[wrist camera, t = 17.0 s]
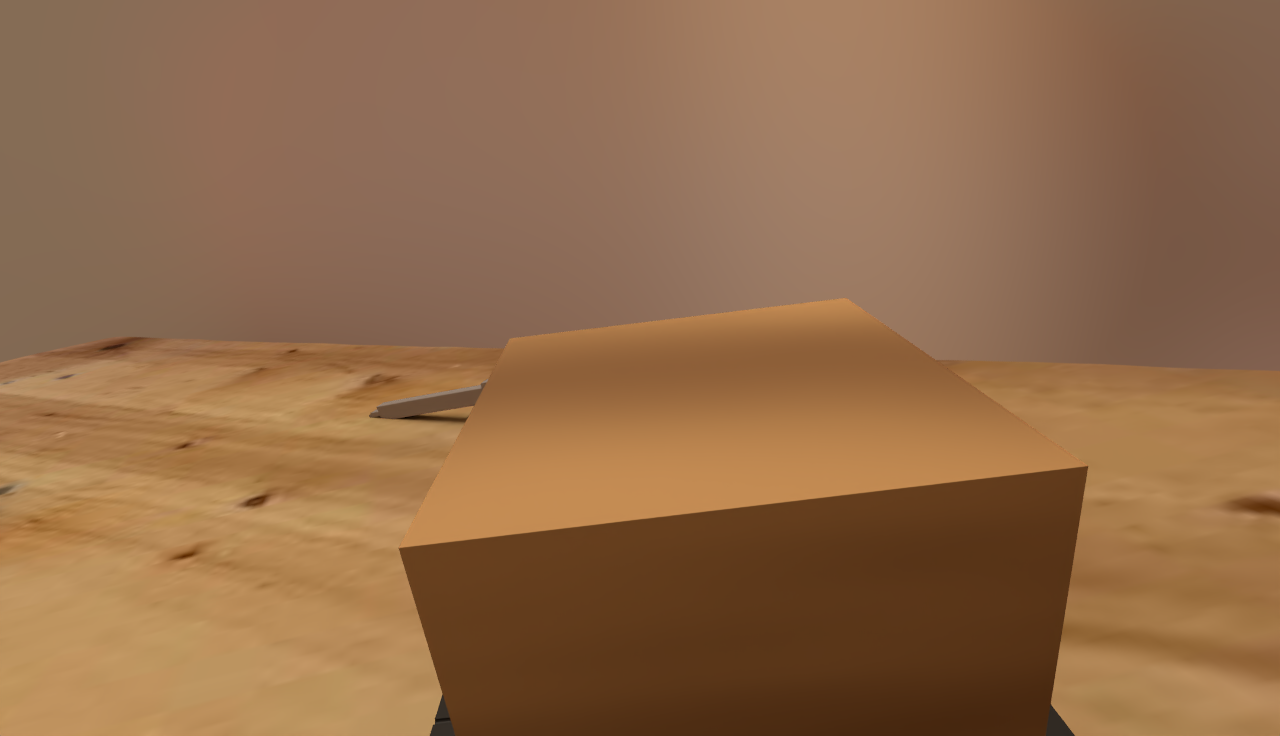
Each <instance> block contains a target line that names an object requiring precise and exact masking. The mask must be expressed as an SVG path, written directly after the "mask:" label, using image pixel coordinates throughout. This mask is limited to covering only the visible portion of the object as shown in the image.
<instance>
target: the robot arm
mask: <svg viewBox="0 0 1280 736" xmlns="http://www.w3.org/2000/svg"><path fill="white" fill-rule="evenodd" d="M430 736H455V733H454V729H453V726H452V723H451V719H450V716H449V713H448V710H447V706H446V703H445V700H444V696H443V695H442V698H441V701H440V705H439V708H438V711H437V714H436V717H435V725H433V727H432V730H431V734H430ZM1046 736H1075V735H1074V734H1073V733H1072V731H1071V730H1070V729H1069V728H1068V726H1067V725H1066V724H1065V722H1064V721H1063V720H1062V718H1061V717H1060V716H1059V715H1058V713H1057V712H1056V711H1055V709H1054V708H1053V707H1052V705H1051V704H1050V710H1049V717H1048V723H1047V729H1046Z"/></svg>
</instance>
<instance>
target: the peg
mask: <svg viewBox="0 0 1280 736" xmlns="http://www.w3.org/2000/svg"><path fill="white" fill-rule="evenodd" d="M1087 470H1088V466H1087V465H1086V464H1085V463H1083V462H1082V461H1080V460H1079V459H1077V458H1076V457H1074V456H1073V455H1072V454H1070V453H1069V452H1067V451H1066V450H1064V449H1063V448H1061V447H1060V446H1059V445H1057V444H1056V443H1054V442H1053V441H1051V440H1050V439H1049V438H1047V437H1046V436H1044V435H1043V434H1041V433H1040V432H1038V431H1037V430H1036V429H1034V428H1033V427H1031V426H1030V425H1028V424H1027V423H1025V422H1024V421H1023V420H1021V419H1020V418H1018V417H1017V416H1015V415H1014V414H1013V413H1011V412H1010V411H1008V410H1007V409H1005V408H1004V407H1002V406H1001V405H1000V404H998V403H997V402H995V401H994V400H992V399H991V398H989V397H988V396H987V395H985V394H984V393H982V392H981V391H979V390H978V389H977V388H975V387H974V386H972V385H971V384H969V383H968V382H966V381H965V380H964V379H962V378H961V377H959V376H958V375H956V374H955V373H953V372H952V371H951V370H949V369H948V368H946V367H945V366H943V365H942V364H941V363H939V362H938V361H936V360H935V359H933V358H932V357H930V356H929V355H928V354H926V353H925V352H923V351H922V350H920V349H919V348H917V347H916V346H915V345H913V344H912V343H910V342H909V341H907V340H906V339H904V338H903V337H902V336H900V335H899V334H897V333H896V332H894V331H892V329H890V328H889V327H887V326H886V325H884V324H883V323H881V322H880V321H879V320H877V319H876V318H874V317H873V316H871V315H870V314H868V313H867V312H866V311H864V310H863V309H861V308H860V307H858V306H857V305H855V304H854V303H853V302H851V301H850V300H848V299H847V298H842V299H833V300H826V301H818V302H809V303H800V304H792V305H784V306H776V307H767V308H760V309H751V310H742V311H734V312H726V313H718V314H709V315H702V316H693V317H684V318H676V319H668V320H661V321H651V322H643V323H635V324H627V325H619V326H610V327H602V328H593V329H585V330H578V331H569V332H562V333H561V332H560V333H552V334H544V335H536V336H528V337H520V338H511V339H509V342H508V343H507V345H506V347H505V349H504V351H503V353H502V355H501V356H500V358H499V360H498V362H497V364H496V366H495V368H494V370H493V371H492V373H491V375H490V377H489V379H488V381H487V383H486V385H485V387H484V388H483V390H482V392H481V394H480V396H479V398H478V400H477V402H476V403H475V405H474V407H473V409H472V411H471V413H470V415H469V417H468V419H467V420H466V422H465V424H464V426H463V428H462V430H461V432H460V434H459V435H458V437H457V439H456V441H455V443H454V445H453V447H452V449H451V450H450V452H449V454H448V456H447V458H446V460H445V462H444V464H443V466H442V467H441V469H440V471H439V473H438V475H437V477H436V479H435V481H434V482H433V484H432V486H431V488H430V490H429V492H428V494H427V496H426V498H425V499H424V501H423V503H422V505H421V507H420V509H419V511H418V513H417V514H416V516H415V518H414V520H413V522H412V524H411V526H410V528H409V530H408V531H407V533H406V535H405V537H404V539H403V541H402V543H401V545H400V546H399V551H400V554H401V557H402V561H403V564H404V567H405V571H406V574H407V577H408V581H409V584H410V587H411V590H412V594H413V597H414V600H415V604H416V607H417V610H418V614H419V617H420V620H421V624H422V627H423V630H424V633H425V637H426V640H427V643H428V647H429V650H430V653H431V657H432V660H433V663H434V667H435V670H436V673H437V676H438V680H439V683H440V686H441V690H442V693H443V696H444V700H445V703H446V706H447V710H448V713H449V716H450V719H451V723H452V726H453V729H454V733H455V736H1046V729H1047V723H1048V717H1049V710H1050V704H1051V698H1052V691H1053V685H1054V679H1055V672H1056V666H1057V660H1058V653H1059V647H1060V641H1061V634H1062V628H1063V622H1064V615H1065V609H1066V603H1067V596H1068V590H1069V584H1070V578H1071V571H1072V565H1073V559H1074V552H1075V546H1076V540H1077V533H1078V527H1079V521H1080V514H1081V508H1082V502H1083V495H1084V489H1085V483H1086V476H1087Z"/></svg>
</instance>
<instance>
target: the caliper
mask: <svg viewBox="0 0 1280 736" xmlns="http://www.w3.org/2000/svg"><path fill="white" fill-rule="evenodd" d="M487 381H488V379H487V380H485V381H484V382H482V383H481V385H478V386H473V387H467V388H461V389H456V390H450V391H445V392H439V393H433V394H428V395H422V396H417V397H411V398H406V399H400V400H395V401H390V402H384V403H382V404H381V405H379V406H377V410H375V411H373V412H372V413H370V415H369V417H377V416H380V417H381V418H391V419H397V418H402V417H408V416H414V415H420V414H426V413H431V412H437V411H443V410H450V409H456V408H462V407H468V406H474V405H475V403H476V402H477V400H478V398H479V396H480V394H481V392H482V390H483V388H484V387H485V385H486V383H487Z"/></svg>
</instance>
